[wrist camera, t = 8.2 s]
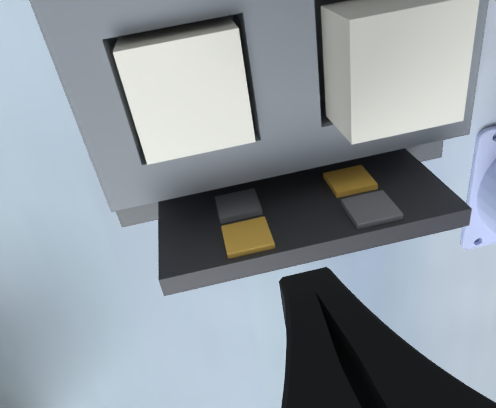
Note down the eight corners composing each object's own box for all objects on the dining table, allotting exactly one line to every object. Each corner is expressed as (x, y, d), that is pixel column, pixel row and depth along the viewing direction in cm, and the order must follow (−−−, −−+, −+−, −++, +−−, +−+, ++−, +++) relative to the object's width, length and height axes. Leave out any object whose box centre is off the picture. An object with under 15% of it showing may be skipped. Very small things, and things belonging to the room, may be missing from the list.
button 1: (227, 13, 16) (238, 28, 14) (243, 115, 18) (255, 141, 16) (118, 34, 16) (112, 52, 14) (148, 135, 18) (147, 164, 16)
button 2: (432, -16, 15) (480, -6, 13) (423, 95, 17) (463, 120, 15) (320, 5, 15) (349, 20, 13) (326, 115, 17) (351, 144, 15)
